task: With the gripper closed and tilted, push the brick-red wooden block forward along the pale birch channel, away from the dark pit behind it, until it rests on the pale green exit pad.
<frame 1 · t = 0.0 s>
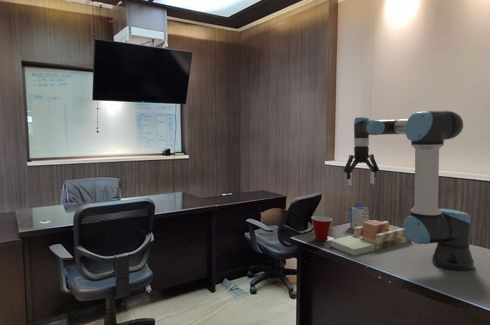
hand: (361, 184, 189), 28 cm above the table, fingers open, 13 cm apart
exit pad: (352, 248, 169), on the table
block: (374, 237, 176), point 3 cm above the table, touching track
ink cartridge box: (359, 228, 203), on the table
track: (374, 242, 176), on the table
plastic cup: (321, 239, 184), on the table
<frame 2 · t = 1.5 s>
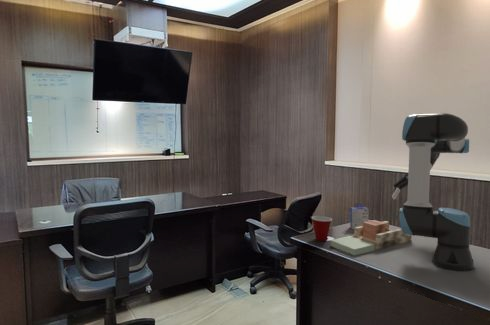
hand: (403, 200, 185), 20 cm above the table, fingers open, 12 cm apart
nothing on the table moved.
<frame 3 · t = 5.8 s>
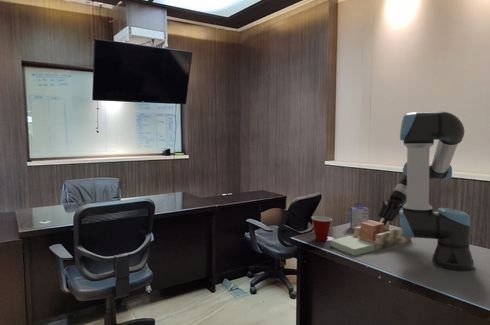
hand: (378, 229, 178), 6 cm above the table, fingers closed
block: (372, 237, 175), point 3 cm above the table, touching gripper, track
everything else where it was.
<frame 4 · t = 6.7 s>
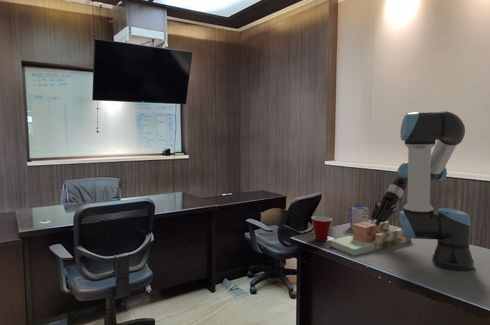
hand: (370, 231, 176), 6 cm above the table, fingers closed
block: (364, 239, 173), point 3 cm above the table, touching exit pad, gripper, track
everything else where it was.
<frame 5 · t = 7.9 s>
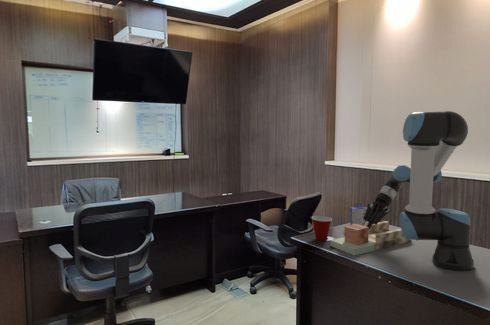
hand: (362, 233, 172), 6 cm above the table, fingers closed
block: (356, 241, 169), point 3 cm above the table, touching exit pad, gripper
everything else where it was.
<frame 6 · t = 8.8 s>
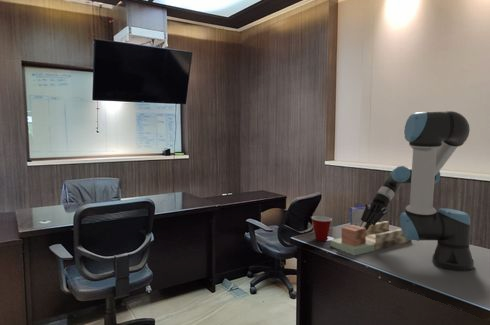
hand: (359, 233, 171), 6 cm above the table, fingers closed
block: (353, 242, 168), point 3 cm above the table, touching exit pad, gripper
everything else where it was.
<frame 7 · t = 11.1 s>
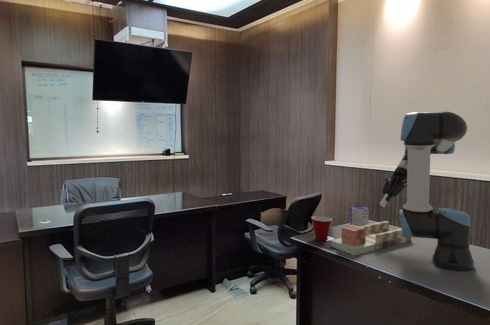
hand: (381, 205, 177), 19 cm above the table, fingers closed
block: (353, 242, 168), point 3 cm above the table, touching exit pad
everything else where it was.
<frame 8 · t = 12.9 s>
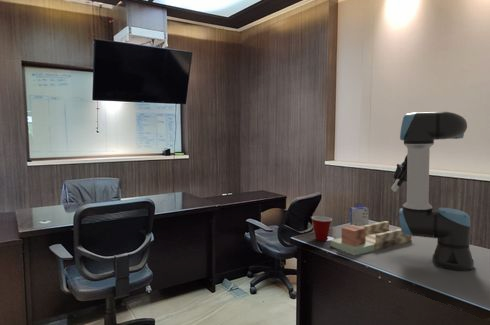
hand: (393, 189, 180), 26 cm above the table, fingers closed
nothing on the table moved.
at the end: block 0.9 cm from the exit pad (horizontally); block point 3.0 cm above the table; block tilted 0° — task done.
